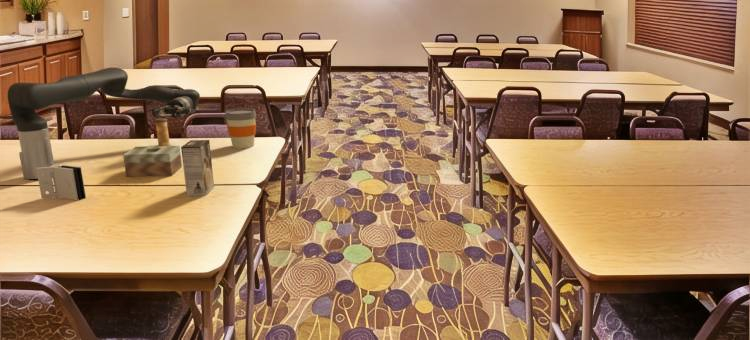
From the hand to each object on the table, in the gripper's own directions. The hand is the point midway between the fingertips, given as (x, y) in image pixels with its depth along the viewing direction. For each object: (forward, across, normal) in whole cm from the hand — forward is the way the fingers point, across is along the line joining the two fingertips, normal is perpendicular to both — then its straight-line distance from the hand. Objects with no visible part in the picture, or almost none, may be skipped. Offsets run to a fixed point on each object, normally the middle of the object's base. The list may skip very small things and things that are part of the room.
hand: (165, 114), depth 223 cm
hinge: (+47, -19, +18) cm, 54 cm away
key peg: (+6, 0, +18) cm, 19 cm away
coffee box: (+44, +23, +18) cm, 53 cm away
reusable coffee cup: (-18, +25, +18) cm, 36 cm away
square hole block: (+19, 0, +18) cm, 26 cm away
